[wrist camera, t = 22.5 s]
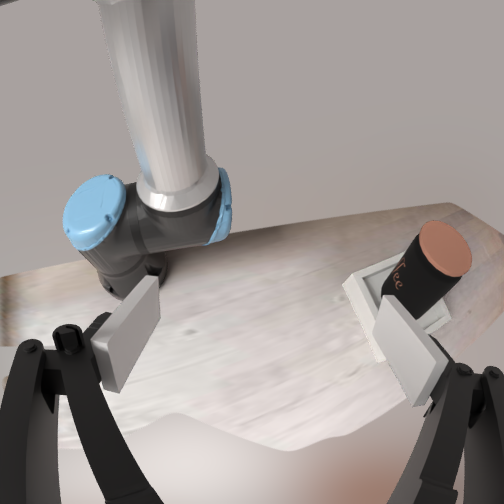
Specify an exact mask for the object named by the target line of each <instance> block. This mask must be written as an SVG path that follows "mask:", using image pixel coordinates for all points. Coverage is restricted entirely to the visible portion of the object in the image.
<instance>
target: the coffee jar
mask: <svg viewBox="0 0 504 504" xmlns="http://www.w3.org/2000/svg"><path fill="white" fill-rule="evenodd" d="M471 263H472V256H471V251H470V249H469V247H468V244H467V243H466V241H465V240H464V238H463V237H462V236H461V235H460V234H459V233H458V232H457V231H456V230H455V229H454V228H452V227H451V226H449V225H448V224H446V223H443V222H441V221H429V222H427V223H426V224H425V225H423V226H422V228H421V231H420V233H419V234H418V235H417V236H416V237H415V239H414V240H413V242H412V243H411V245H410V246H409V248H408V249H407V250H406V252H405V253H404V255H403V256H402V258H401V259H400V261H399V262H398V263H397V265H396V266H395V268H394V269H393V270H392V272H391V273H390V275H389V276H388V277H387V279H386V280H385V281H384V283H383V285H382V288H381V299H382V298H383V295H394V296H395V297H396V298H397V300H398V301H399V302H400V303H401V304H402V305H403V306H404V307H405V309H406V310H407V311H408V312H409V313H410V314H411V315H412V317H413V318H414V319H415V320H417V319H419V318H420V317H421V316H423V315H424V314H425V313H426V312H427V311H428V310H429V309H430V308H431V307H433V306H434V305H435V304H436V303H437V302H438V301H439V300H440V299H441V298H442V297H443V296H444V295H445V294H446V293H447V292H448V291H449V290H450V289H451V288H452V287H453V286H454V285H455V284H456V283H457V282H458V281H459V280H460V279H461V277H462V275H464V274H465V273H467V272H468V270H469V269H470V267H471Z"/></svg>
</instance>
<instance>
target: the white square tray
mask: <svg viewBox="0 0 504 504" xmlns="http://www.w3.org/2000/svg"><path fill="white" fill-rule="evenodd" d="M405 252H406V251H405ZM405 252H402V253H400V254H398V255H395V256H393V257H391V258H388V259H386V260H384V261H381V262H379V263H376V264H374V265H372V266H369V267H367V268H364V269H362V270H359V271H357V272H354V273H352V274H351V275H350V277H349V278H348V279H347V280H346V281H345V282H344V283H343V284H342V286H343V288H344V290H345V292H346V294H347V296H348V298H349V300H350V303H351V305H352V307H353V309H354V311H355V313H356V315H357V318H358V320H359V322H360V324H361V326H362V328H363V331H364V333H365V335H366V337H367V340H368V342H369V344H370V347H371V349H372V351H373V353H374V356H375V358H376V360H377V363H380V362H383V361H387V360H386V358H385V356H384V354H383V353H382V351H381V349H380V347H379V346H378V344H377V342H376V341H375V339H374V337H373V335H372V331H373V328H374V325H375V321H376V318H377V315H378V311H379V308H380V305H381V301H382V299H381V288H382V285H383V283H384V281H385V280H386V279H387V277H388V276H389V275H390V273H391V272H392V270H393V269H394V268H395V266H396V265H397V263H398V262H399V261H400V259H401V258H402V256H403V255H404V253H405ZM451 319H452V318H451V315H450V313H449V311H448V309H447V306H446V304H445V302H444V300H443V298H441V299H440V300H439V301H438V302H437V303H436V304H435V305H434V306H433V307H431V308H430V309H429V310H428V311H427V312H426V313H425V314H424V315H423V316H421V317H420V318H419V319H417V320H416V321H417V322H418V324H419V325H420V326H421V327H422V328H423V329H424V331H425V332H426V333H427V334H429V335H430V334H432V333H433V332H434V331H436V330H437V329H439V328H440V327H441V326H443V325H444V324H446V323H447V322H448V321H450V320H451Z"/></svg>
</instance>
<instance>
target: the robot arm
mask: <svg viewBox="0 0 504 504" xmlns="http://www.w3.org/2000/svg"><path fill="white" fill-rule="evenodd" d="M14 1H17V0H0V6H1V5H5V4H8V3H11V2H14ZM93 1H95V2H96V3H97V4H98V5H99V11H100V16H101V22H102V27H103V32H104V37H105V41H106V46H107V50H108V55H109V59H110V63H111V67H112V71H113V76H114V79H115V83H116V87H117V91H118V95H119V98H120V102H121V106H122V109H123V113H124V116H125V120H126V123H127V126H128V130H129V133H130V136H131V139H132V143H133V146H134V149H135V152H136V155H137V158H138V161H139V164H140V167H141V172H140V174H139V176H138V179H137V182H135V183H131V184H126V185H124V184H123V182H122V181H121V180H120V179H118V178H117V177H114V176H113V175H109V174H108V175H107V174H105V175H99V176H96V177H93V178H91V179H89V180H88V181H86V182H85V183H83V184H82V185H81V186H80V187H79V188H78V189H77V190H76V192H75V193H74V194H73V195H72V196H71V197H70V199H69V201H68V203H67V205H66V207H65V210H64V214H63V228H64V231H65V233H66V235H67V237H68V238H69V239H70V241H71V243H72V245H73V246H74V247H75V248H76V249H77V250H78V251H79V252H80V253H81V254H82V255H83V256H84V257H85V258H86V259H87V260H88V261H89V262H90V263H91V264H92V265H93V266H94V267H95V268H96V269H97V272H98V276H99V279H100V282H101V284H102V286H103V287H104V288H105V290H106V291H107V292H108V293H110V294H111V295H112V296H113V297H115V298H116V299H119V300H121V301H123V302H122V303H121V304H120V305H119V306H118V307H117V308H116V310H115V311H114V312H113V313H109V312H105V313H103V314H101V315H99V316H98V317H97V318H96V319H95V320H94V321H93V323H92V324H91V325H90V326H89V328H87V329H86V330H85V331H84V333H82V330H81V328H80V327H79V326H77V325H73V324H66V325H62V326H59V327H58V328H56V329H55V330H54V331H53V335H52V336H53V340H54V343H55V346H56V349H57V350H45V349H44V347H43V344H42V342H41V341H39V340H36V339H30V340H26V341H24V342H22V343H21V344H20V345H19V347H18V349H17V351H16V354H15V357H14V360H13V364H12V367H11V370H10V374H9V377H8V380H7V384H6V388H5V391H4V395H3V399H2V404H1V408H0V504H61V497H60V487H59V474H58V408H59V395H67V398H68V402H69V406H70V409H71V413H72V416H73V419H74V423H75V426H76V429H77V432H78V435H79V438H80V441H81V443H82V446H83V449H84V452H85V454H86V457H87V459H88V462H89V464H90V467H91V469H92V471H93V474H94V476H95V478H96V481H97V483H98V485H99V487H100V489H101V491H102V493H103V495H104V498H105V503H106V504H164V503H163V502H162V500H161V499H160V497H159V496H158V495H157V493H156V491H155V490H154V489H153V488H152V487H151V485H150V484H149V482H148V481H147V479H146V478H145V476H144V474H143V473H142V471H141V469H140V468H139V466H138V464H137V462H136V461H135V459H134V457H133V455H132V454H131V452H130V450H129V448H128V446H127V444H126V442H125V440H124V438H123V436H122V434H121V432H120V430H119V428H118V426H117V424H116V422H115V420H114V418H113V416H112V413H111V411H110V409H109V407H108V404H107V402H106V400H105V397H104V395H103V393H102V390H101V388H100V385H99V383H100V382H101V381H102V384H103V387H104V390H108V391H111V392H115V393H120V391H121V389H122V388H123V386H124V384H125V382H126V380H127V378H128V376H129V374H130V373H131V371H132V369H133V367H134V365H135V363H136V361H137V360H138V358H139V356H140V354H141V352H142V350H143V349H144V347H145V345H146V343H147V341H148V340H149V338H150V336H151V334H152V332H153V331H154V329H155V327H156V325H157V324H158V322H159V320H160V302H159V286H160V285H161V284H162V282H163V280H164V278H165V275H166V272H167V257H166V254H165V251H169V250H175V249H181V248H187V247H194V246H200V245H202V246H205V245H209V244H210V243H214V242H218V241H222V240H224V239H225V238H226V237H227V236H228V234H229V232H230V229H231V221H232V208H231V203H232V198H231V188H230V182H229V178H228V175H227V172H226V171H225V169H223V168H218V167H217V165H216V163H215V162H214V160H213V159H212V158H211V157H210V156H208V155H207V154H206V151H205V141H204V131H203V119H202V108H201V96H200V84H199V83H200V82H199V69H198V52H197V35H196V15H195V0H93ZM372 335H373V337H374V339H375V341H376V342H377V344H378V346H379V347H380V349H381V351H382V353H383V354H384V356H385V358H386V360H387V361H388V363H389V365H390V367H391V369H392V370H393V372H394V374H395V376H396V378H397V380H398V381H399V383H400V385H401V387H402V389H403V391H404V392H405V394H406V396H407V398H408V400H409V402H410V404H411V405H412V407H416V406H421V405H425V403H426V401H427V400H428V398H429V396H431V398H432V400H433V402H432V403H431V405H430V407H429V408H428V410H427V411H426V413H425V415H424V416H423V417H426V419H425V421H424V424H423V427H422V430H421V432H420V435H419V437H418V440H417V443H416V445H415V447H414V450H413V452H412V454H411V456H410V459H409V461H408V463H407V465H406V468H405V470H404V472H403V474H402V476H401V478H400V480H399V482H398V484H397V486H396V488H395V490H394V491H393V493H392V495H391V497H390V499H389V500H388V502H387V504H455V503H456V500H457V496H458V492H457V490H453V485H454V482H455V479H456V475H457V472H458V468H459V465H460V461H461V457H462V452H463V448H464V457H465V480H464V501H463V504H504V374H503V373H502V371H501V370H500V369H499V368H497V367H493V366H488V367H486V368H485V370H484V372H483V374H475V373H474V372H473V370H472V369H471V368H470V367H469V366H468V365H466V364H462V363H455V362H454V360H453V359H452V358H451V357H450V355H449V354H448V353H447V352H446V350H444V348H443V347H442V346H441V344H440V343H439V342H438V341H437V340H436V339H435V338H434V337H432V336H431V335H429V334H427V333H426V332H425V331H424V329H423V328H422V327H421V326H420V325H419V324H418V322H417V321H416V320H415V319H414V318H413V317H412V315H411V314H410V313H409V312H408V311H407V310H406V309H405V307H404V306H403V305H402V304H401V303H400V302H399V301H398V300H397V298H396V297H395V296H394V295H383V298H382V301H381V305H380V308H379V311H378V315H377V318H376V321H375V325H374V328H373V331H372ZM426 415H427V416H426Z"/></svg>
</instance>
